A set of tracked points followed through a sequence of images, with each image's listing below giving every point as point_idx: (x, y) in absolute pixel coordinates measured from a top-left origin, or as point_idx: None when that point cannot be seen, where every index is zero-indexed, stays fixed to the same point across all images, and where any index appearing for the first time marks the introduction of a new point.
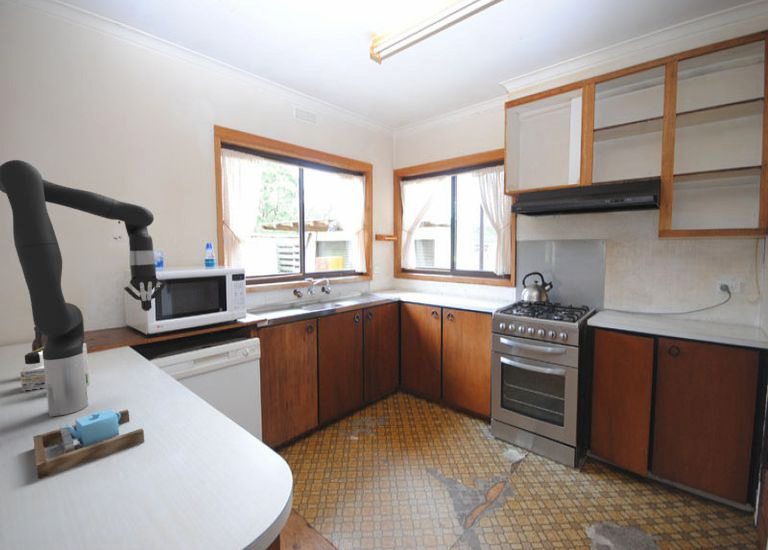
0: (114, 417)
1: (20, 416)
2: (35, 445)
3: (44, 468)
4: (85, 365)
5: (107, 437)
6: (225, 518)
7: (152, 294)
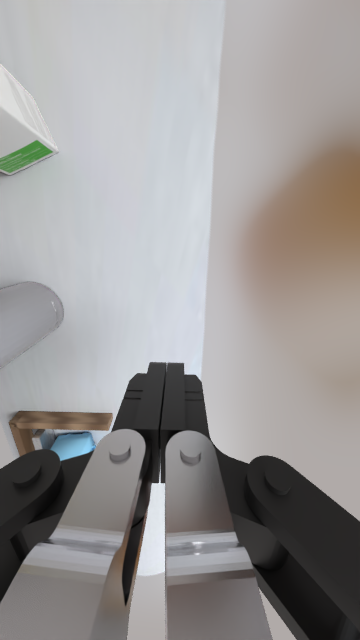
0: None
1: None
2: (17, 445)
3: None
4: (14, 127)
5: None
6: (138, 563)
7: (273, 529)
